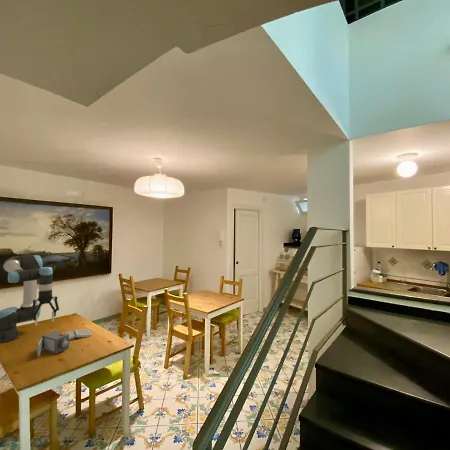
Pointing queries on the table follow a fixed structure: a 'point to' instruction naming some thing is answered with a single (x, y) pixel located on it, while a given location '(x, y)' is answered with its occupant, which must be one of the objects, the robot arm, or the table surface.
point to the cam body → (55, 342)
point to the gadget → (79, 333)
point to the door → (40, 346)
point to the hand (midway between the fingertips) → (44, 323)
